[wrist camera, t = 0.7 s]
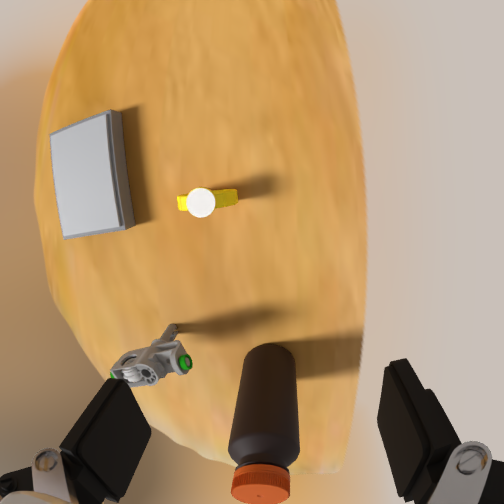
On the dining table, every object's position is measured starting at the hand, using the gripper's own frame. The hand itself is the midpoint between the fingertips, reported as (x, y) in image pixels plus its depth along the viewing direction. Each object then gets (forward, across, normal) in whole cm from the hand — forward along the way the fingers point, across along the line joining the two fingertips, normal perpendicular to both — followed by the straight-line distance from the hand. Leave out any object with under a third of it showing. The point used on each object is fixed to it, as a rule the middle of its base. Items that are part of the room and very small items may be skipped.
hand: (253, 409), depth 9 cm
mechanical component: (+25, +14, +10) cm, 30 cm away
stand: (+24, +20, -11) cm, 34 cm away
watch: (+25, +6, -6) cm, 26 cm away
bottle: (+25, +2, +16) cm, 30 cm away
